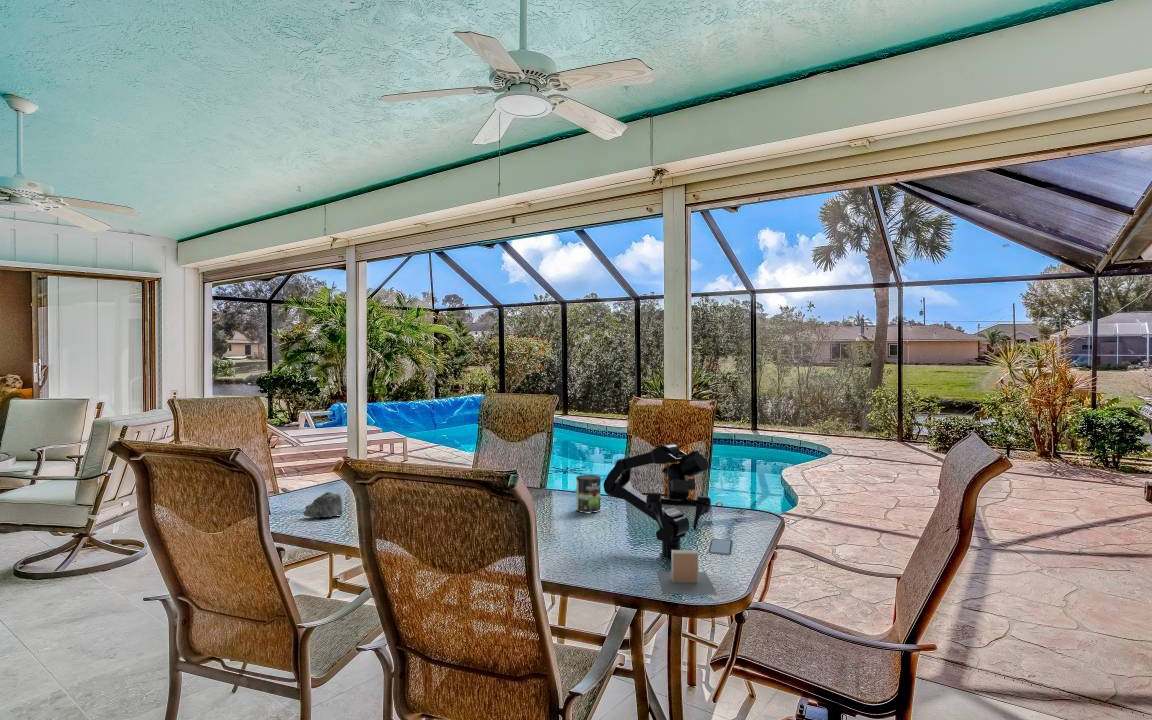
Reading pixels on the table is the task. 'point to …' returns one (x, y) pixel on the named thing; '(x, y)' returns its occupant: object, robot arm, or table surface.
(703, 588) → the mat
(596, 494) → the coffee can
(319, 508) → the mineral rock
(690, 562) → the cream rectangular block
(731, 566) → the table surface
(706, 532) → the table surface
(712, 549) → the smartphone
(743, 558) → the table surface
